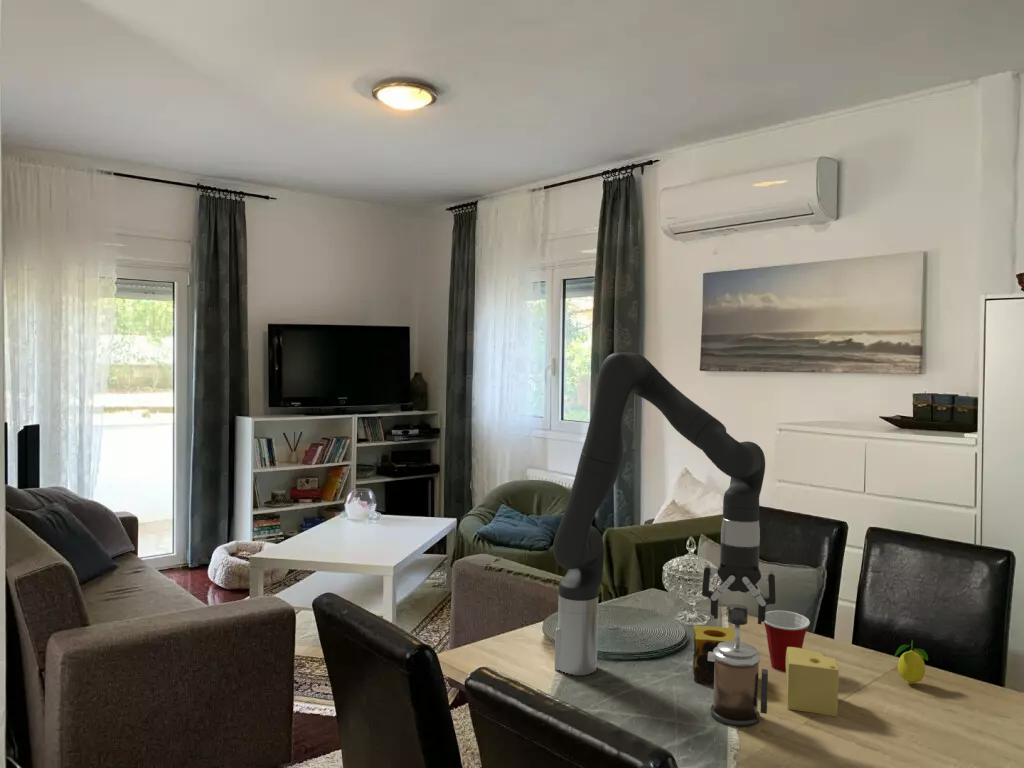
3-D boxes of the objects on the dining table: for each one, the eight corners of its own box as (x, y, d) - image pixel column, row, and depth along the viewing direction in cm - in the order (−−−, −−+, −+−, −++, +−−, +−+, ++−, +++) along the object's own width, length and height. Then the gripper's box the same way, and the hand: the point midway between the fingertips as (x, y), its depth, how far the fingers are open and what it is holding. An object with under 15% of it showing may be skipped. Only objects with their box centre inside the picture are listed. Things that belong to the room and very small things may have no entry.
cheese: (835, 697, 170) (837, 652, 170) (839, 719, 160) (840, 670, 159) (784, 690, 173) (786, 645, 173) (784, 710, 163) (786, 662, 163)
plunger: (716, 654, 157) (717, 610, 157) (718, 642, 164) (719, 599, 164) (756, 659, 154) (757, 614, 154) (756, 646, 162) (757, 603, 161)
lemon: (893, 685, 177) (894, 641, 176) (894, 676, 182) (895, 634, 182) (927, 692, 174) (928, 647, 173) (927, 682, 179) (928, 639, 178)
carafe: (704, 722, 157) (706, 657, 156) (708, 702, 166) (709, 641, 166) (766, 731, 153) (768, 665, 153) (766, 711, 162) (768, 648, 162)
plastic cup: (757, 671, 183) (759, 620, 183) (762, 656, 193) (763, 607, 193) (807, 680, 179) (809, 627, 179) (809, 663, 189) (811, 614, 189)
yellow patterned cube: (740, 687, 174) (741, 643, 174) (693, 683, 176) (694, 639, 176) (736, 670, 184) (738, 628, 184) (692, 666, 186) (693, 624, 186)
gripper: (702, 541, 157) (700, 622, 158) (777, 548, 153) (774, 631, 153) (705, 534, 164) (703, 610, 165) (777, 540, 160) (774, 619, 160)
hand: (737, 620), depth 159 cm, fingers open, 8 cm apart
